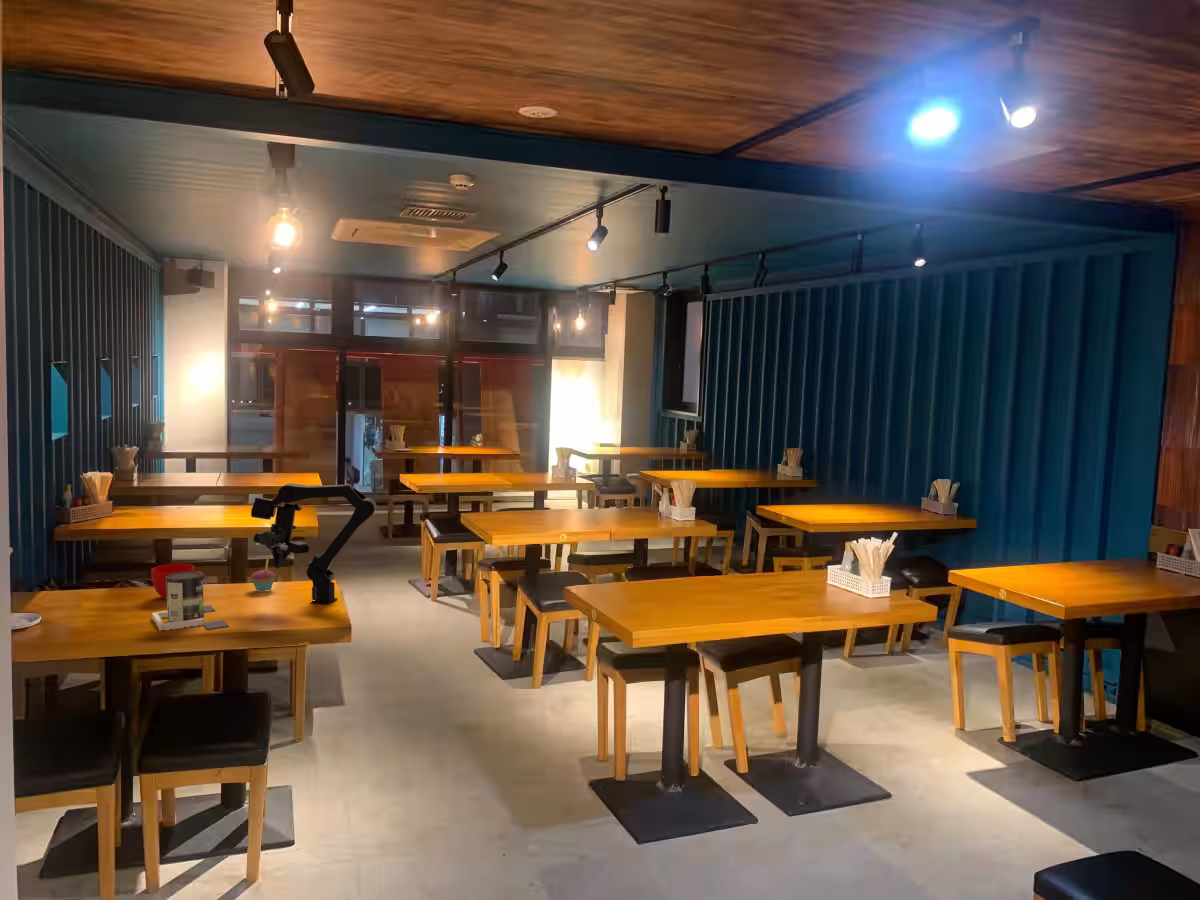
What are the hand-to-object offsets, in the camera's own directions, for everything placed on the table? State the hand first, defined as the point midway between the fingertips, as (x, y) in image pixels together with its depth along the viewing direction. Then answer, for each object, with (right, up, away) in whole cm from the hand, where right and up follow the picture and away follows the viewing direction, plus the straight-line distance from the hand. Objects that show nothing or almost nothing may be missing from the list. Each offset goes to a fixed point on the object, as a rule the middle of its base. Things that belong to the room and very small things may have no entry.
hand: (277, 568), depth 286 cm
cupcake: (-11, -10, +16) cm, 22 cm away
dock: (-22, -13, -22) cm, 34 cm away
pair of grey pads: (-15, -13, -17) cm, 26 cm away
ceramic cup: (-35, -11, +6) cm, 37 cm away
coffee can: (-20, -13, -21) cm, 32 cm away
